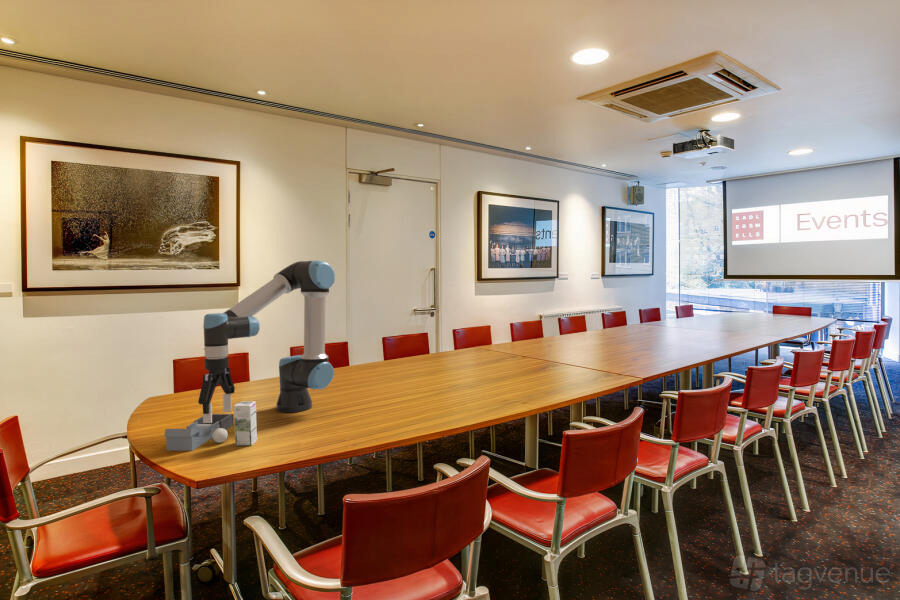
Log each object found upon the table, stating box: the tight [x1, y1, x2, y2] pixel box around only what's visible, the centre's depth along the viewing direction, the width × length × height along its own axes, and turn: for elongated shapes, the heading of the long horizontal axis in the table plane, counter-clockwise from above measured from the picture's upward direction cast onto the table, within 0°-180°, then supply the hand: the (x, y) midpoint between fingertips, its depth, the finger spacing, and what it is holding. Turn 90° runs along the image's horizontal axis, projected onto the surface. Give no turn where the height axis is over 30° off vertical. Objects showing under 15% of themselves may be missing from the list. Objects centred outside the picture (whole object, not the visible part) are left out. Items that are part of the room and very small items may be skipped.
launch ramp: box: [163, 421, 220, 452], centre depth 173 cm, size 19×9×8 cm, turn 178°
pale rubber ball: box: [211, 428, 229, 444], centre depth 172 cm, size 5×5×5 cm
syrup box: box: [233, 400, 258, 447], centre depth 170 cm, size 6×6×14 cm
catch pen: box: [193, 413, 234, 431], centre depth 187 cm, size 9×11×4 cm
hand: (218, 417), depth 171 cm, fingers open, 13 cm apart
